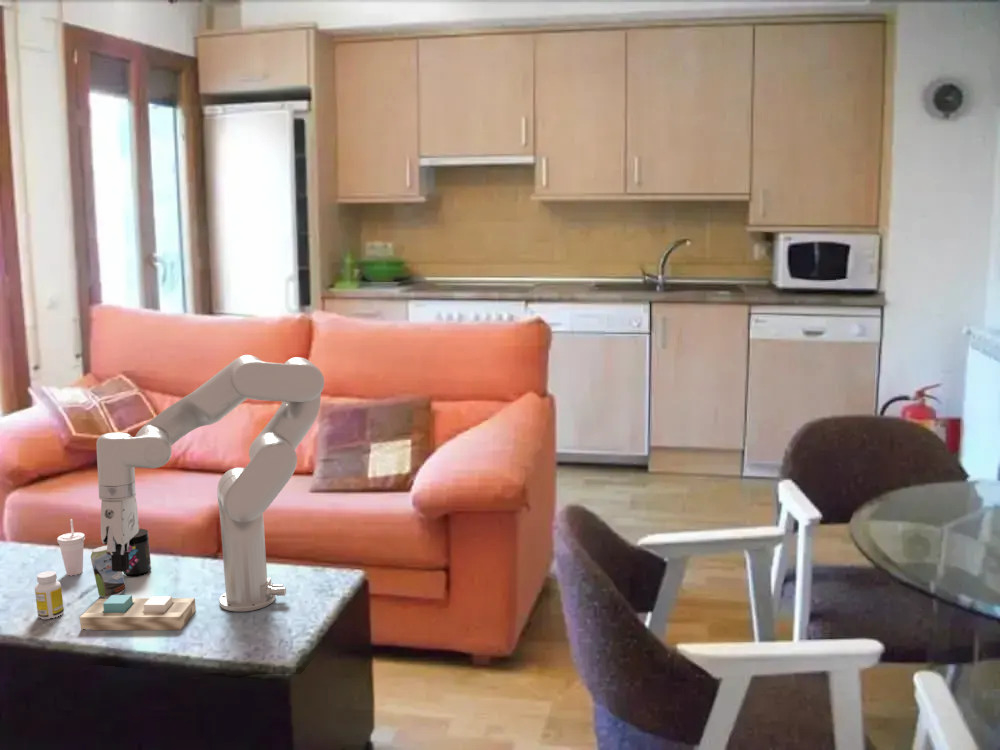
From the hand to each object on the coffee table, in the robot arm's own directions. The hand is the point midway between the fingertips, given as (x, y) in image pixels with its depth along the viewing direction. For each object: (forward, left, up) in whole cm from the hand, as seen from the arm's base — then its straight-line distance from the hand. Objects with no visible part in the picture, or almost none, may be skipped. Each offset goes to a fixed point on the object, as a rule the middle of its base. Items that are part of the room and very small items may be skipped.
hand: (120, 570), depth 219 cm
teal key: (+1, 0, -10) cm, 10 cm away
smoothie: (+24, -28, -12) cm, 40 cm away
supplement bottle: (+18, -3, -12) cm, 22 cm away
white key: (-8, 0, -10) cm, 13 cm away
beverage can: (+9, -14, -12) cm, 21 cm away
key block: (-3, 0, -12) cm, 12 cm away
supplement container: (+8, -28, -12) cm, 32 cm away
